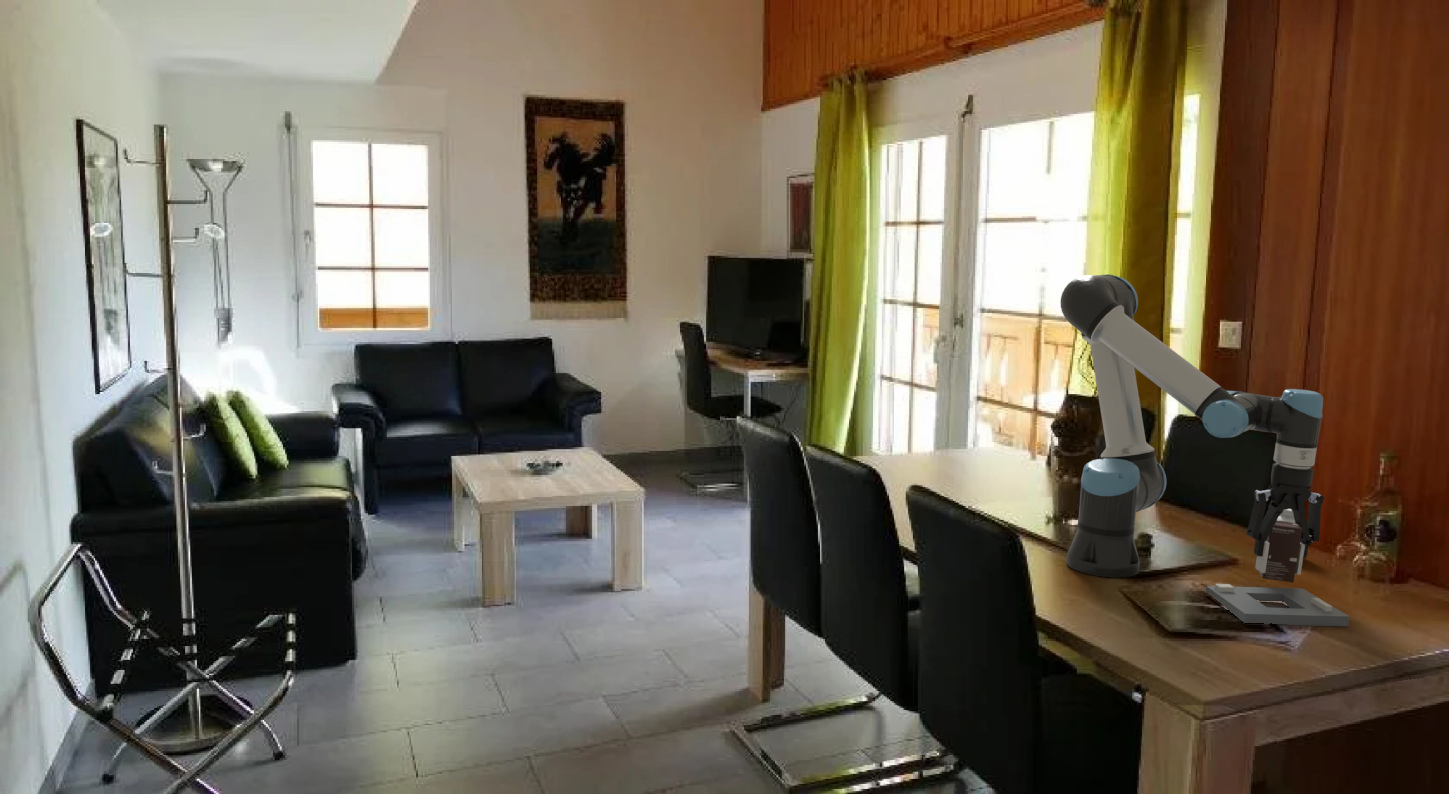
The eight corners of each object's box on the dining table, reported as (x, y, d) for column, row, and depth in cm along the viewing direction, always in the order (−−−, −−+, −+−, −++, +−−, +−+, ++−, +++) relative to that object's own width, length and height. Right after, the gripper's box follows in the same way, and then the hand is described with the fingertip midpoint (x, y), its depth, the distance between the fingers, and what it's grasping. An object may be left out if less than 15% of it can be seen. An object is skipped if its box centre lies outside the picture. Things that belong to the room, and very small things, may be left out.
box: (1263, 579, 222) (1271, 524, 220) (1259, 573, 226) (1267, 518, 224) (1295, 584, 220) (1303, 528, 218) (1290, 577, 224) (1298, 522, 222)
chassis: (1244, 623, 202) (1245, 608, 201) (1205, 595, 217) (1206, 581, 217) (1348, 626, 202) (1350, 611, 202) (1301, 597, 218) (1303, 583, 217)
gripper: (1255, 466, 215) (1240, 575, 219) (1351, 471, 215) (1334, 579, 219) (1237, 458, 222) (1222, 563, 226) (1330, 462, 223) (1314, 567, 227)
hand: (1277, 571), depth 223 cm, fingers closed on box, 7 cm apart
